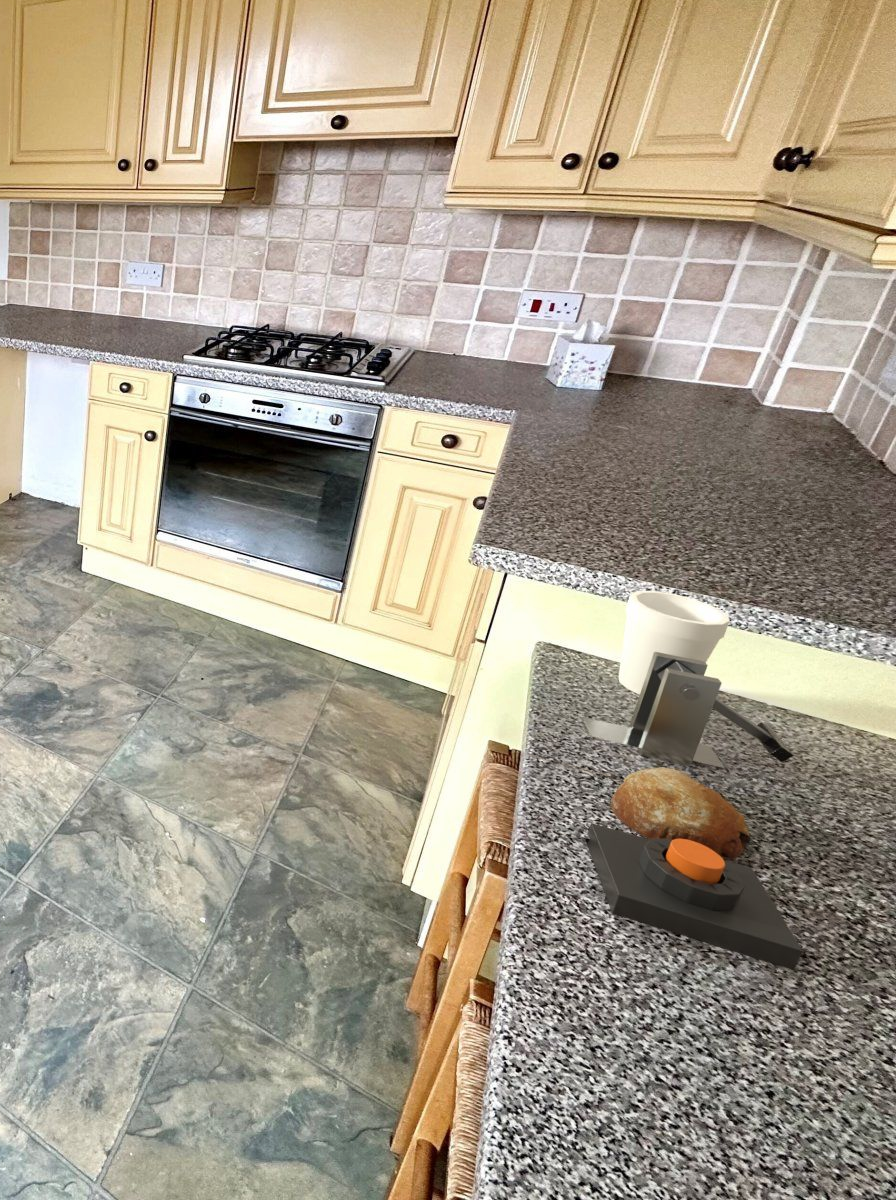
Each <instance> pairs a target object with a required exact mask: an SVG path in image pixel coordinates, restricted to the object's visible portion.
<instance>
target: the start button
mask: <svg viewBox="0 0 896 1200" xmlns="http://www.w3.org/2000/svg"><path fill="white" fill-rule="evenodd" d="M665 858H666V861H667V863H668V864H669V865H671V866H672V867H673V868H674V869H675V870H677V871H678V872H680V873H682V874H684V875H686V876H688V877H690V878H692V879H695V880H698V881H702V882H705V883H709V884H715V883H717V882H719V880H720V877H721V875H722V872H723V870H724V868H725V862H724V860H725V859H724V860H723V859H722V858H721V856H719V855H718V854H717V853H716V852H714V851H713V850H711V849H710V848H708V847H706V846H704V845H702V844H700V843H697V842H694V841H691V840H687V839H674V840H672V841H671V843H670V846H669V849H668V851H667V854H666V857H665Z"/></svg>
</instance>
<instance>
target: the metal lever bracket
mask: <svg viewBox="0 0 896 1200" xmlns="http://www.w3.org/2000/svg"><path fill="white" fill-rule="evenodd" d="M675 662H678V663H680V664H681V665H683V666H684V667H685V668H687V669H688V670H690V671H691V672H693V673H694V674H692V673H687V672H682V671H677V670H672V669H667V667H669V666H670V665H672V664H673V663H675ZM708 667H709V666H708V663H707V662H706V663H705V661H700V660H695V659H690V658H685V657H679V656H674V655H669V654H664V653H659V652H654V654H653V657H652V660H651V663H650V666H649V669H648V672H647V675H646V678H645V681H644V684H643V687H642V690H641V692H640V695H639V694H638V695H639V696H638V698H637V700H636V704H635V708H634V710H633V714H632V716H631V719H630V722H629V725H628V726H624V725H620V724H615V723H611V722H607V721H602V720H598V719H593V718H590V717H589V718H588V717H585V716H582V717H581V720H580V721H581V723H582V725H583V728H584V730H585V732H586V734H587V736H588V737H592V738H596V739H600V740H605V741H609V742H613V743H616V744H617V743H618V744H621V745H625V746H630V747H633V748H637V753H638V755H639V756H641V757H645V758H650V759H653V760H654V759H655V760H657V761H662V762H666V763H671V764H675V765H679V766H682V767H687V768H691V766H692V763H693V762H697V763H702V764H706V765H710V766H713V767H718V768H722V769H726V767H725V765H724V764H723V763H722V761H721V760H720V759H719V757H718V755H717V754H716V752H715V751H714V750H713V748H712V746H710V745H707V744H702V743H701V739H702V737H703V734H704V732H705V729H706V726H707V723H708V721H709V718H710V715H711V714H712V713H711V712H712V710H713V705H714V702H715V700H716V698H718V694H719V692H720V689H721V687H722V683H723V682H722V681H721V679H719V678H717V677H712V676H707V675H705V674H706V671H707V668H708ZM665 669H666V670H665ZM663 670H665V672H664V675H663V678H662V681H661V679H660V678H659V676H658V674H659V673H660V672H662V671H663Z"/></svg>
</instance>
